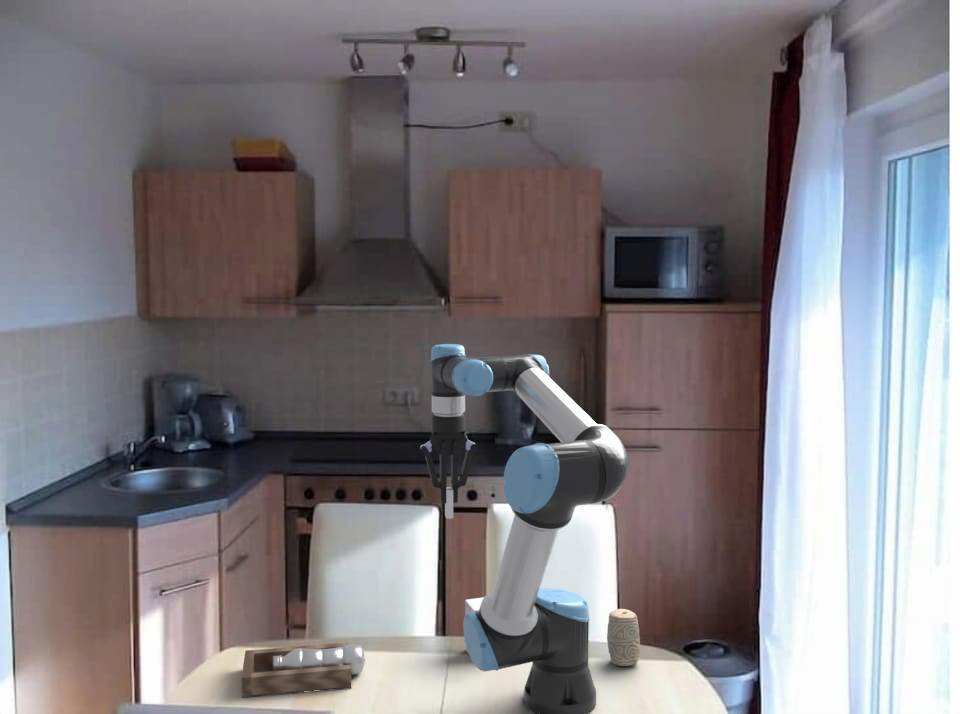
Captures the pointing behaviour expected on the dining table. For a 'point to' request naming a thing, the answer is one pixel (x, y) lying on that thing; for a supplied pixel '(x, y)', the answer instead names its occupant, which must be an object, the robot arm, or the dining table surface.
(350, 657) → the plastic bottle
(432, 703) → the dining table surface
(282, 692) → the wooden tray
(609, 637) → the carving
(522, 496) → the robot arm
